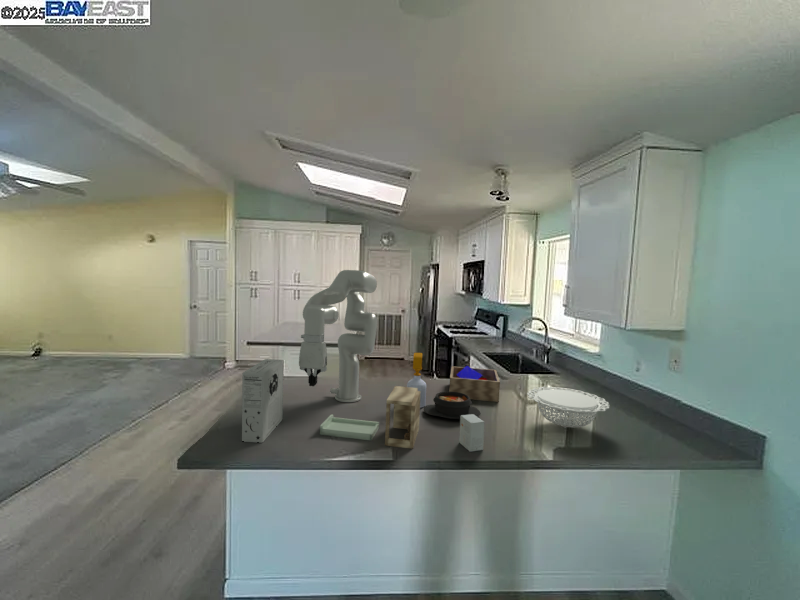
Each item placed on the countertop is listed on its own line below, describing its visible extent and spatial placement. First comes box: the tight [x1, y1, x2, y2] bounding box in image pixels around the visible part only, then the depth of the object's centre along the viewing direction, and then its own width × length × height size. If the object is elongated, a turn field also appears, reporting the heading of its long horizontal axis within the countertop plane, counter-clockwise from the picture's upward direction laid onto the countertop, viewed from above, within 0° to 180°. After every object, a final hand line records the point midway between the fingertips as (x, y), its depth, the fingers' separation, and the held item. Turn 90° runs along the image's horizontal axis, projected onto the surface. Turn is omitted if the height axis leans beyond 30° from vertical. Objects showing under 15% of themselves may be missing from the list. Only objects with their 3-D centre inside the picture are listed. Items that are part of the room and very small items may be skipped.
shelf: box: [384, 385, 421, 449], centre depth 148 cm, size 10×17×17 cm, turn 171°
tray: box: [319, 414, 380, 441], centre depth 151 cm, size 20×12×4 cm, turn 80°
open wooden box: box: [449, 365, 501, 403], centre depth 207 cm, size 24×24×10 cm
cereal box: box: [241, 358, 284, 444], centre depth 148 cm, size 22×8×25 cm, turn 178°
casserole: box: [423, 391, 481, 420], centre depth 173 cm, size 25×19×8 cm
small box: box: [458, 414, 485, 452], centre depth 142 cm, size 8×6×10 cm
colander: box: [526, 386, 611, 428], centre depth 163 cm, size 32×32×13 cm
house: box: [457, 365, 487, 380], centre depth 207 cm, size 12×20×12 cm, turn 13°
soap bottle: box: [406, 352, 427, 409], centre depth 183 cm, size 9×9×25 cm
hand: (312, 385), depth 152 cm, fingers closed
